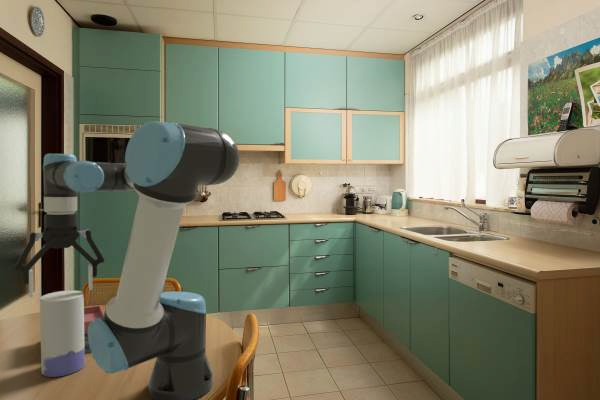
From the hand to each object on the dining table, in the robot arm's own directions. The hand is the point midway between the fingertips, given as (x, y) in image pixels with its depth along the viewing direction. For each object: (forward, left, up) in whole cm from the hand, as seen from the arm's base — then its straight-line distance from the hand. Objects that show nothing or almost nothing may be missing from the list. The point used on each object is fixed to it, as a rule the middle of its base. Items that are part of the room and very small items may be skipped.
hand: (61, 292), depth 106 cm
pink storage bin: (+16, -4, -18) cm, 24 cm away
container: (0, 0, -21) cm, 21 cm away
